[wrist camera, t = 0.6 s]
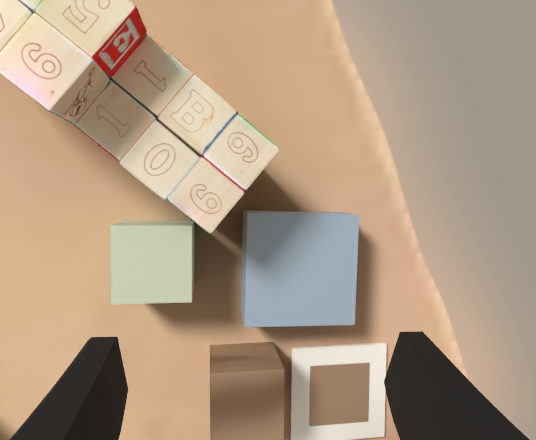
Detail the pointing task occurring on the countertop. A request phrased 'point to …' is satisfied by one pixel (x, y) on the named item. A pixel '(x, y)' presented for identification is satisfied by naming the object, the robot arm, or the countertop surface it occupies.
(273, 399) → the walnut cube
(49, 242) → the countertop surface
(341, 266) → the base block
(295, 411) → the white flat square frame
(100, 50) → the stack of blocks
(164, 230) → the sage cube
